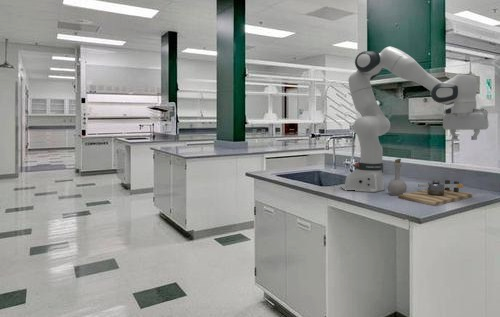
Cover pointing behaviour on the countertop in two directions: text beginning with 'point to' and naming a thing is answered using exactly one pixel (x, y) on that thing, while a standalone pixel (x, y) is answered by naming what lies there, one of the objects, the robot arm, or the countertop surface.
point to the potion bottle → (397, 181)
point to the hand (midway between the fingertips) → (464, 139)
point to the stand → (436, 196)
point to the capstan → (438, 187)
